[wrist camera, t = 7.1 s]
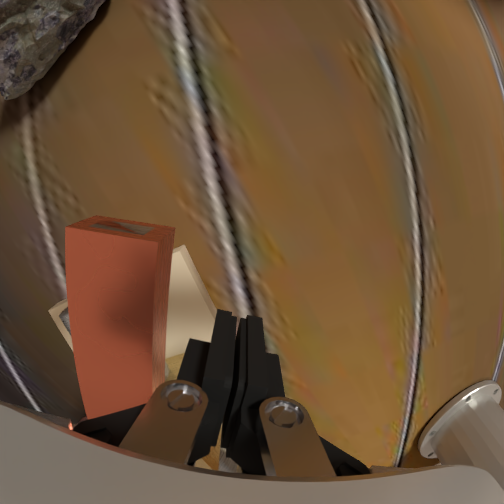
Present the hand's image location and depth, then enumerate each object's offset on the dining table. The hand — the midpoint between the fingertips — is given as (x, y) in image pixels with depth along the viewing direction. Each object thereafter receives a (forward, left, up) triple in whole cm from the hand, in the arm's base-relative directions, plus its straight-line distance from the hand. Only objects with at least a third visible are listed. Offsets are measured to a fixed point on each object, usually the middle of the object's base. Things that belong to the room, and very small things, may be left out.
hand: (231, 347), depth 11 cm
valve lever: (-1, +5, +1) cm, 5 cm away
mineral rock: (+24, +5, -9) cm, 26 cm away
